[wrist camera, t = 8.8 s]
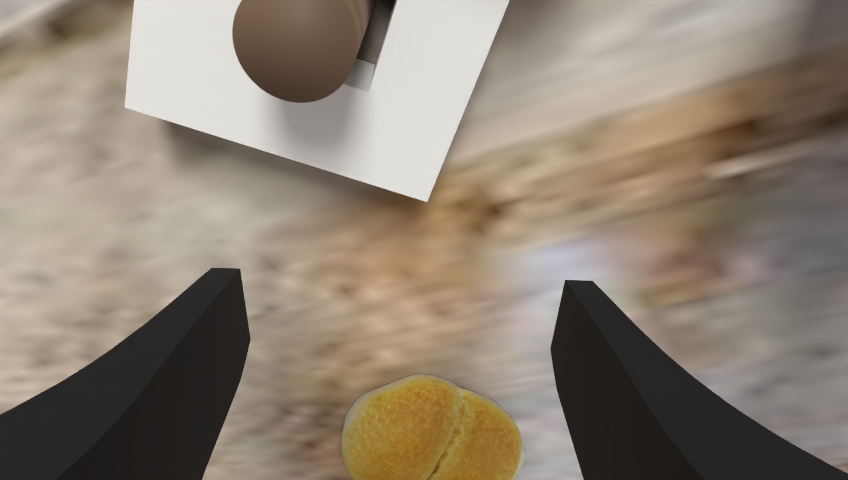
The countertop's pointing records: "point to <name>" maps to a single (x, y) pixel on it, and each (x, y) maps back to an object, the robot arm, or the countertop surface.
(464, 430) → the bread roll
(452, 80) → the socket block
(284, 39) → the peg
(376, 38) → the countertop surface
